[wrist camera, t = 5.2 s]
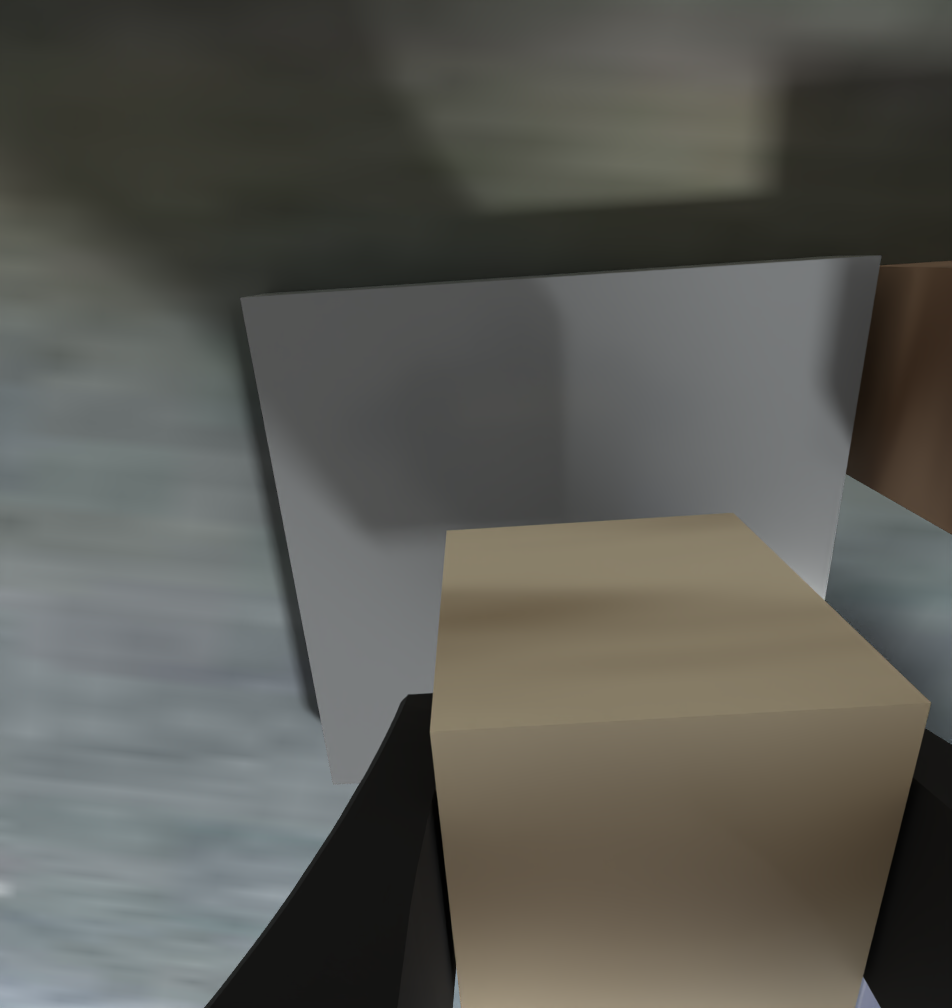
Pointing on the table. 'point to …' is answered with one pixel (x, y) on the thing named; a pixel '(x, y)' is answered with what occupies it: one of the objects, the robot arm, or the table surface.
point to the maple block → (660, 770)
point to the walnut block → (908, 392)
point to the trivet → (539, 435)
